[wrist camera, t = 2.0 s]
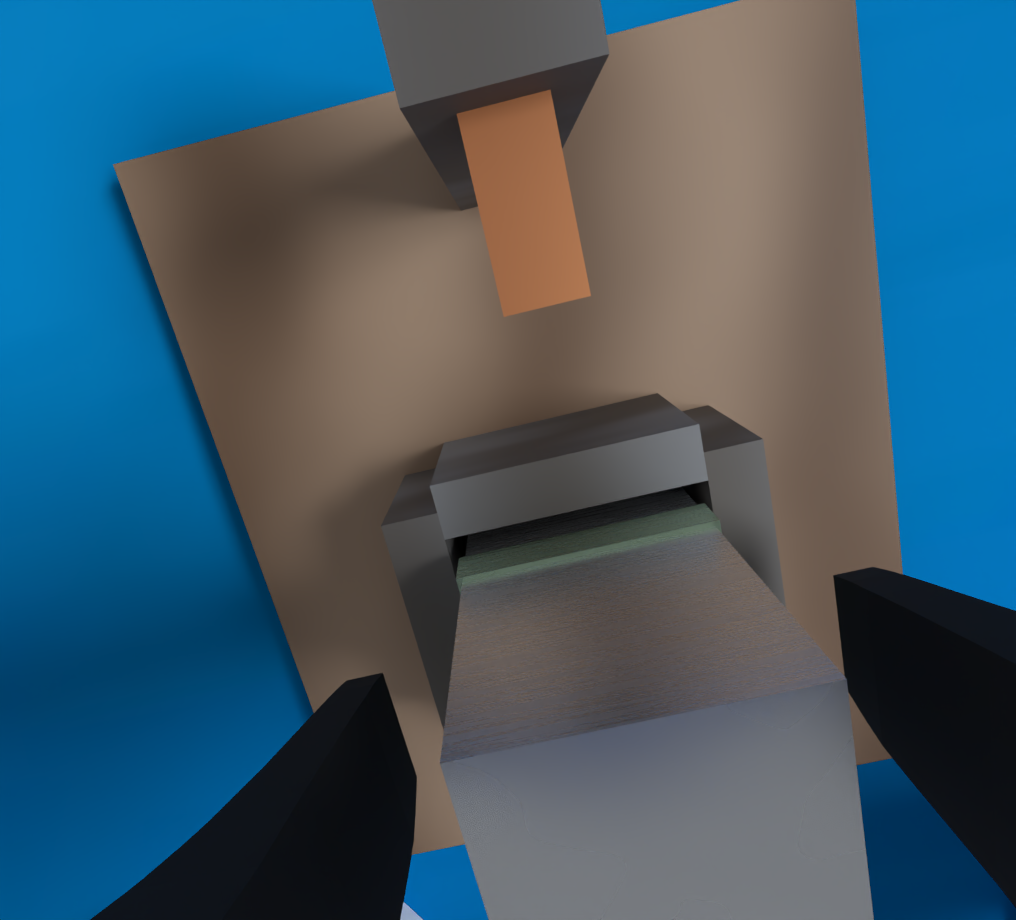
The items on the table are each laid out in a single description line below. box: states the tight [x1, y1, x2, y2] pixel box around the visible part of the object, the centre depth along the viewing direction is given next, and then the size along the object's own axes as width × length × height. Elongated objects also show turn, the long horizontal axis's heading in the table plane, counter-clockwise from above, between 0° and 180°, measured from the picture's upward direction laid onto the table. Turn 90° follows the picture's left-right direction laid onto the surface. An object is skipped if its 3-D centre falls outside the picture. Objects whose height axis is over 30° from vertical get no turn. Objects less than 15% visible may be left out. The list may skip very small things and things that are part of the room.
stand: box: [113, 0, 903, 855], centre depth 11 cm, size 14×17×9 cm
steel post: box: [440, 487, 874, 920], centre depth 11 cm, size 4×4×8 cm
